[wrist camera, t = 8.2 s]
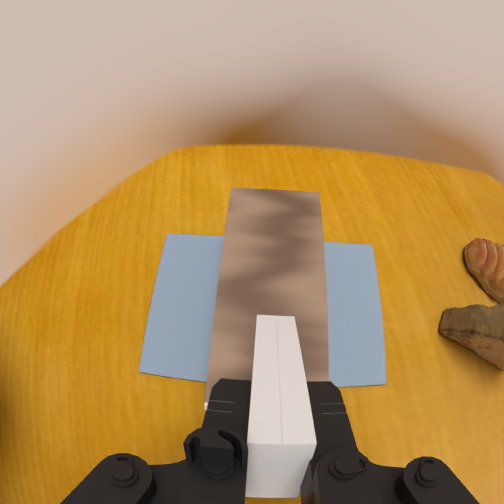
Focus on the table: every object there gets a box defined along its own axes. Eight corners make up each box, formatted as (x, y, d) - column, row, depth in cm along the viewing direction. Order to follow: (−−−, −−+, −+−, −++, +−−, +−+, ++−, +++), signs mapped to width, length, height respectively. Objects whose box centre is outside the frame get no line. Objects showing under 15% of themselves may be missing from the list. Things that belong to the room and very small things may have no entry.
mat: (140, 372, 19) (138, 371, 19) (168, 236, 26) (167, 233, 25) (384, 384, 19) (386, 383, 18) (370, 247, 25) (372, 244, 25)
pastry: (456, 281, 23) (477, 260, 20) (463, 233, 26) (480, 212, 23) (514, 319, 21) (537, 304, 17) (517, 271, 24) (536, 254, 21)
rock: (423, 334, 18) (495, 420, 13) (497, 243, 15) (575, 339, 9) (444, 309, 26) (497, 371, 21) (493, 246, 22) (550, 311, 17)
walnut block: (203, 410, 13) (231, 187, 20) (217, 411, 18) (235, 237, 25) (327, 415, 12) (319, 193, 20) (306, 415, 18) (306, 241, 25)
